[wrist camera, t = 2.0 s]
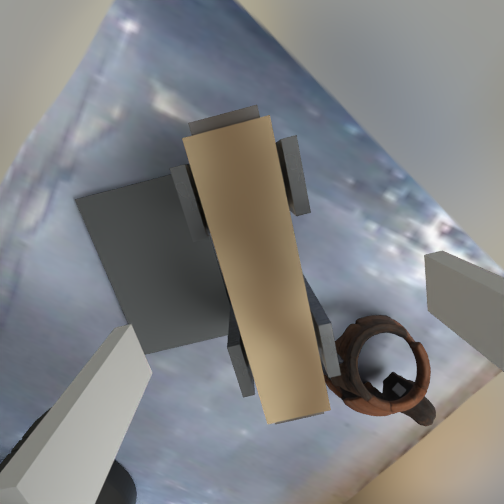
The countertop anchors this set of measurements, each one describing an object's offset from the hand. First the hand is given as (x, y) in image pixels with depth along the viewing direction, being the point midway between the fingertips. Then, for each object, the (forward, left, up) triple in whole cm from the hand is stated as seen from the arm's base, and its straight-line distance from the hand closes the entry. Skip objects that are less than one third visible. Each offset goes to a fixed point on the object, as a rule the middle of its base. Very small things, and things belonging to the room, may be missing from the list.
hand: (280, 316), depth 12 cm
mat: (-9, -1, -14) cm, 17 cm away
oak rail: (0, 0, -7) cm, 7 cm away
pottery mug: (+8, -15, -14) cm, 22 cm away
